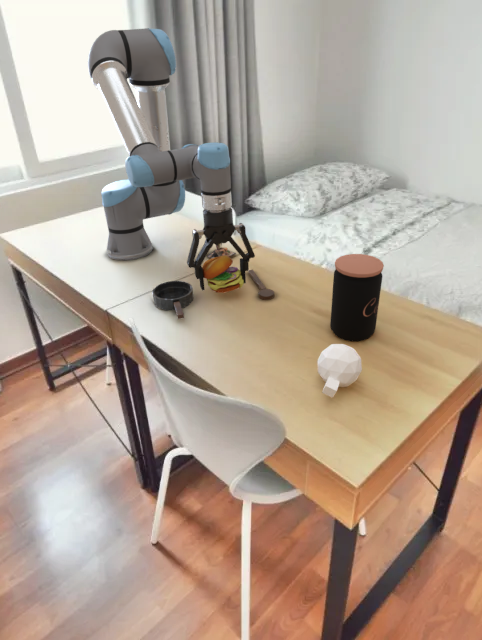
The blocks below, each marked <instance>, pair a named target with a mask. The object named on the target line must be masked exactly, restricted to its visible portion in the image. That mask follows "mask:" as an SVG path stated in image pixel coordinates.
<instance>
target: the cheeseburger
mask: <svg viewBox="0 0 482 640" xmlns="http://www.w3.org/2000/svg"><path fill="white" fill-rule="evenodd" d="M233 263H234V260H233V259H232V258H231V256H229V257H228V256H226V255H224V256H219V257H215V258H209V259H206V260H204V261H203V263H202V264H201V266H202V268H203V277H204V280H206V282H207V286H208V287H209V288H210V290H211V291H212V292H215V293H219V294H224V293H229V292H232V291H235V290H237V289H241V288H242V287H243V286H244V284H245V283H244V280H243V279H242V276H241V271H240V268H238V267H237V266H232V264H233Z"/></svg>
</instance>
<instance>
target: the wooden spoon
mask: <svg viewBox="0 0 482 640" xmlns="http://www.w3.org/2000/svg"><path fill="white" fill-rule="evenodd" d="M247 272H248V275H249V277H250V278H251V279H252V281H253V283H254V284H255V285H256V287H257V289H258V290H259V291H258V294H257V295H258V298H259V299H261V300H265V301H269V300H272V299H274V298H275V291H274V289H271V288H267V287H266V286H265V285H264V283H263V281H262V280H261V279H260V278H259V276H258V275H257V273H256V272H255V271H254V269H248V271H247Z"/></svg>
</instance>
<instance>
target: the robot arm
mask: <svg viewBox="0 0 482 640" xmlns="http://www.w3.org/2000/svg"><path fill="white" fill-rule="evenodd" d="M175 54H176V53H175V49H174V46H173V44H172V41H171V40H170V37H169V35H168V34H167V32H165V31H164V30H163V29H160V28H148V27H147V28H132V29H110V30H106V31H104V32H102V33H101V34H100V35H98V37H96V38H95V40H94V42H93V43H92V44H91V47H90V49H89V52H88V56H87V57H88V58H87V59H88V60H87V68H88V74H89V77H90V80H91V82H92V84H93V86H94V87H95V88H96V89H97V90H98V91H100V93H101V95H102V98H103V100H104V102H105V104H106V107H107V109H108V111H109V113H110V115H111V118H112V120H113V123H114V125H115V127H116V129H117V131H118V133H119V135H120V139H121V141H122V143H123V145H124V147H125V150H126V152H127V154H128V156H127V158H125V162H124V163H125V164H124V165H125V172H126V174H127V179H120V180H116V181H113V182H111V183H109V184H107V185H105V186H104V187H103V188H102V190H101V201H102V202H101V203H102V206H103V210H104V214H105V215H104V216H105V220H106V225H107V230H108V237H107V245H106V252H107V256H108V258H110V259H112V260H116V261H133V260H138V259H141V258H144V257H147V256H148V255H150V254H151V253H152V252H153V249H154V248H153V242H152V241H151V239H150V237H149V235H148V233H147V230H146V229H145V226H144V225H145V224H144V220H148V219H153V218H157V217H162V216H166V215H169V216H170V215H172V214H175V213H178V212H180V211H181V210H182V209H183V207H184V206H185V203H186V188H185V185H184V180H190V179H198V180H199V183H200V195H201V205H202V209H203V210H202V216H203V228H202V229H199V230H197V229H195V228H194V229H193V230H192V240H191V245H190V249H189V252H188V256H187V259H186V264H187V266H188V268H189V269H192V268H193V269H194V276H195V278H196V280H199V287H200V290H201V291H205V290H206V287H205V278H204V277H203V268H202V265H203V263H204V262H205V259H206V258H207V255H208V254H209V252H210V250H211V249H212V247H213V246H214V245H215V246H216V244H220V243H222V244H227V243H228V242H229V244H230V245H231V246H232V247H233V248H234V250H235V251H236V252H237V253H238V254H239V255H240V257H241V258H239V270H240V271H241V276H242V279H243V280H244V284H247V278H246V275H247V274H246V272H248V270H250V268H249V262H250V259H254V258H255V256H256V254H255V252H254V250H253V248H252V247H253V246H252V245H251V243H250V240H249V238H248V236H247V233H246V225H244V224H243V223H242V222H240V223H238V224H234V215H233V208H232V207H233V202H232V201H233V199H232V198H233V197H232V177H231V158H230V152H229V146H228V145H227V144H226V143H223V142H216V141H215V142H205V143H202V144H200V145H198V144H194V143H187V144H185V145H183V146H182V147H181V148H176V149H171V139H170V128H169V119H168V116H169V115H168V106H167V105H168V104H167V93H166V88H167V87H168V86H169V85H170V83H171V80H170V76H173V75H174V74H175V73H176V67H177V60H176V55H175ZM132 88H133V90H135V94H136V95H134V92H133V90H132ZM135 96H136V97H135ZM235 231H236V232H237V233H238V234H239V237H240V239H241V240H242V242H243V245H244V247H245V250H246V253H245V252H244V250H243V249H242V248H241V247H240V246H239V244H238V243H237V241H236V240H235V239H234V238H233V237H232V236H233V234H234V233H235ZM203 236H204V237H205V236H206V237H207V238H206V237H205V240H204V242H203V243H204V244H203V246H202V247H201V248H200V251H199V253H197V252H198V248H199V245H200V240H201V239H202V237H203Z"/></svg>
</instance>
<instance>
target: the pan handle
mask: <svg viewBox="0 0 482 640" xmlns="http://www.w3.org/2000/svg"><path fill="white" fill-rule="evenodd" d="M173 304H174V308H175V310H174V313H175V314H176V318H177V320H181V319H182V320H183V319H185V314H184V312H183V308H181V305H180V302H179V301H178V302H173Z"/></svg>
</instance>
